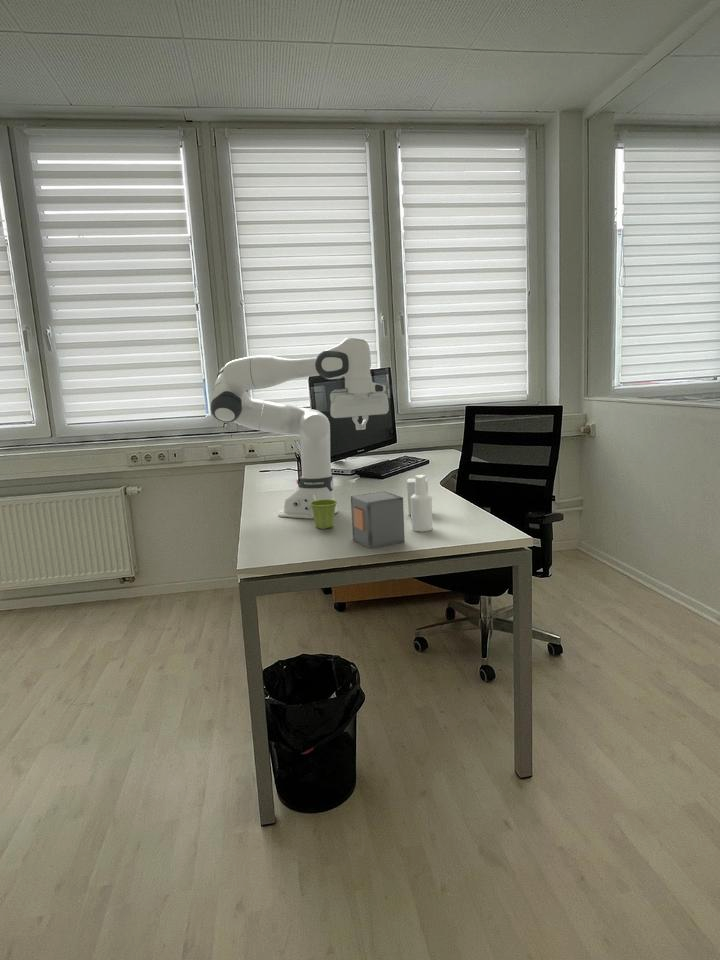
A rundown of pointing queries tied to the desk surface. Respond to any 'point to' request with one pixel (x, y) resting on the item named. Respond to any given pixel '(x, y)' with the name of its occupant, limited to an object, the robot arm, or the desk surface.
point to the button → (359, 518)
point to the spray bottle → (421, 506)
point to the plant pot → (323, 513)
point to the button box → (379, 519)
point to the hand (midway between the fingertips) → (360, 429)
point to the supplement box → (411, 491)
